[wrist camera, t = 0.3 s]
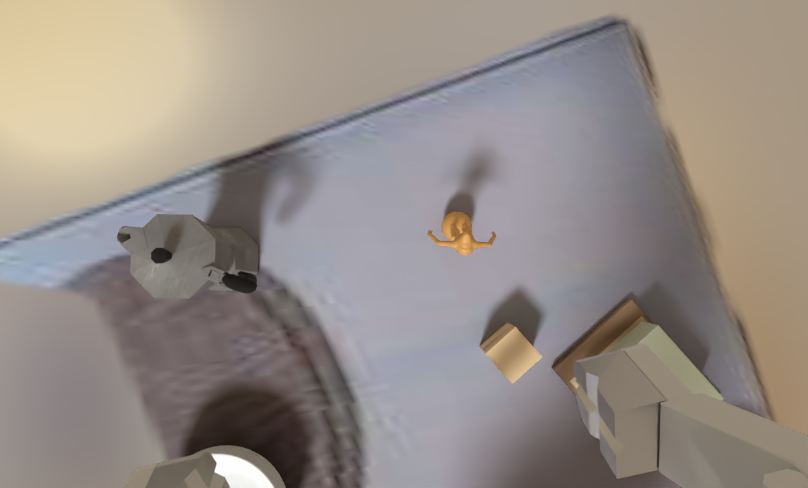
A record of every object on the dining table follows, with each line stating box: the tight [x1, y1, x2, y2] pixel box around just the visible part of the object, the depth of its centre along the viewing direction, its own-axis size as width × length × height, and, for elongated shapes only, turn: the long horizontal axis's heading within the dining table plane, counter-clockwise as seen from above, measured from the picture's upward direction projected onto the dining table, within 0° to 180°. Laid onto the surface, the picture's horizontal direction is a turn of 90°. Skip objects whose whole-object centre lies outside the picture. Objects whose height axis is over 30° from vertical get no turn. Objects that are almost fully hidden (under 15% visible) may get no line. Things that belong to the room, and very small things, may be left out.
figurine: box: [427, 211, 496, 255], centre depth 57 cm, size 8×6×12 cm
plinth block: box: [575, 322, 724, 401], centre depth 59 cm, size 12×12×4 cm
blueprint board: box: [552, 299, 653, 395], centre depth 62 cm, size 18×14×1 cm
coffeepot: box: [117, 214, 259, 298], centre depth 54 cm, size 15×9×18 cm, turn 67°
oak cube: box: [479, 322, 542, 384], centre depth 60 cm, size 5×5×5 cm
